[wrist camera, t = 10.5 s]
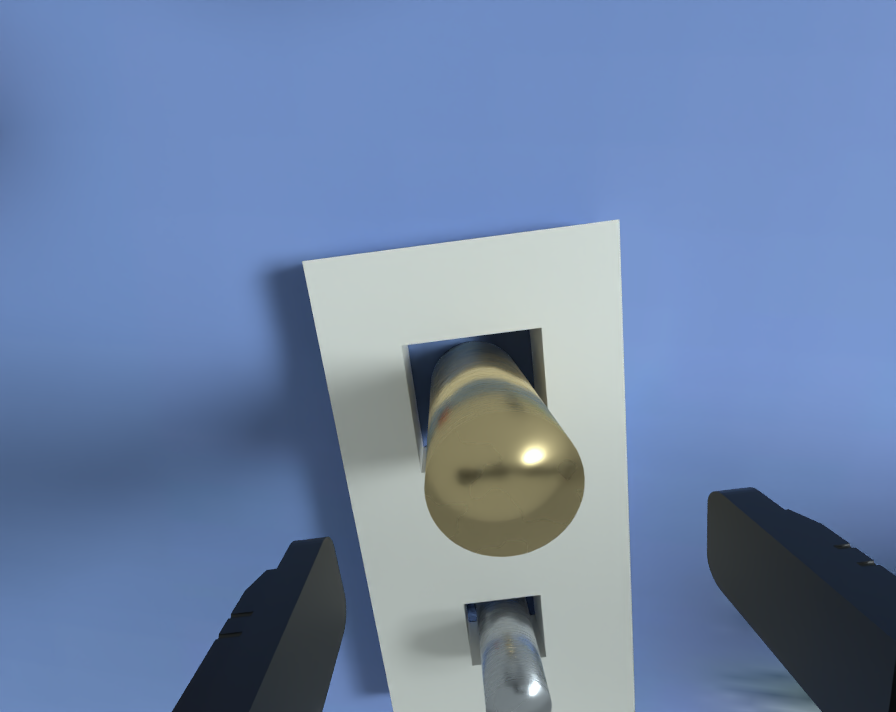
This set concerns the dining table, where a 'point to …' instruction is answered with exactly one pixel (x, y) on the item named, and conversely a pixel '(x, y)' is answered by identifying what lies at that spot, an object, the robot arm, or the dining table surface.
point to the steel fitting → (510, 658)
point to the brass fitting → (496, 456)
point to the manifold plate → (404, 458)
